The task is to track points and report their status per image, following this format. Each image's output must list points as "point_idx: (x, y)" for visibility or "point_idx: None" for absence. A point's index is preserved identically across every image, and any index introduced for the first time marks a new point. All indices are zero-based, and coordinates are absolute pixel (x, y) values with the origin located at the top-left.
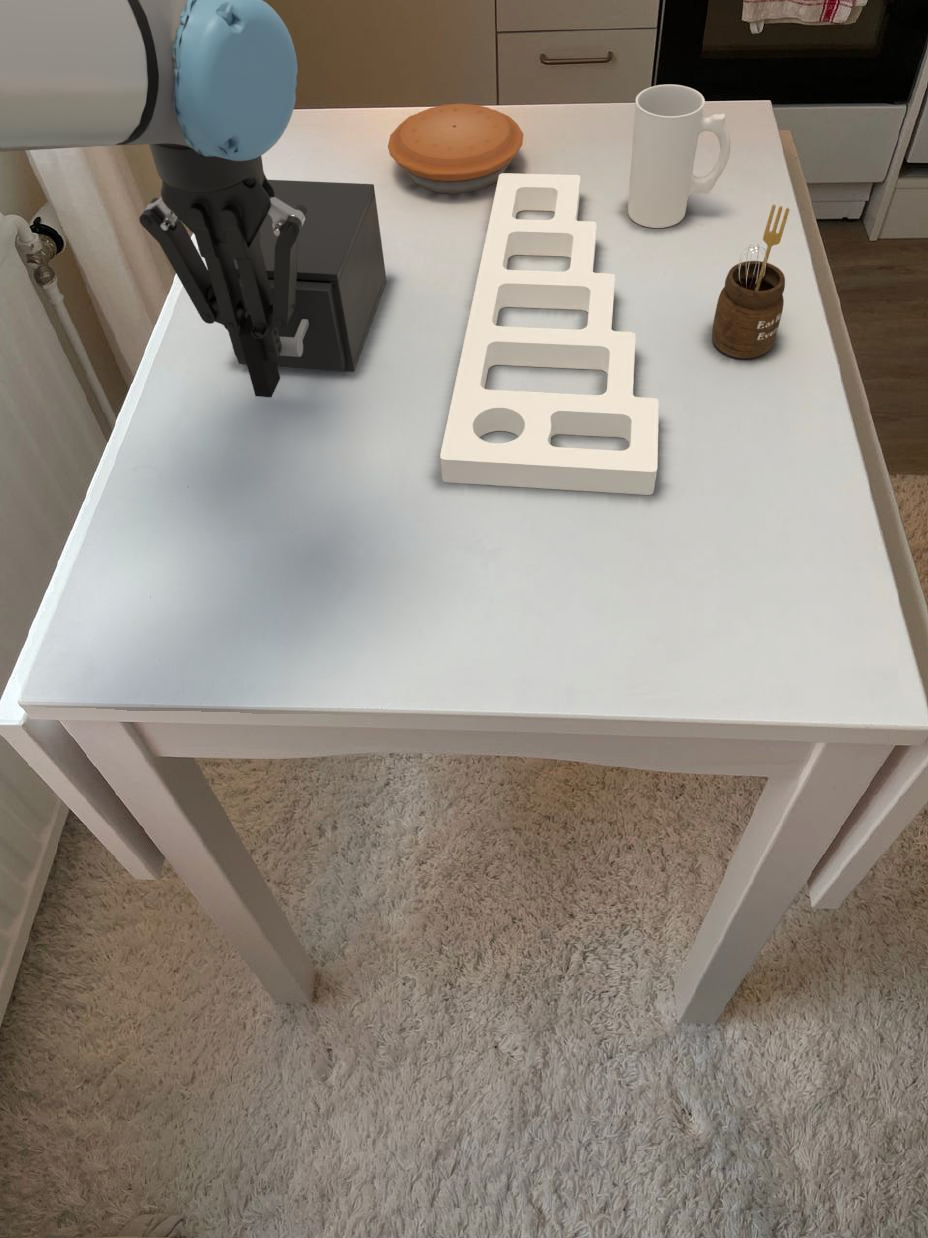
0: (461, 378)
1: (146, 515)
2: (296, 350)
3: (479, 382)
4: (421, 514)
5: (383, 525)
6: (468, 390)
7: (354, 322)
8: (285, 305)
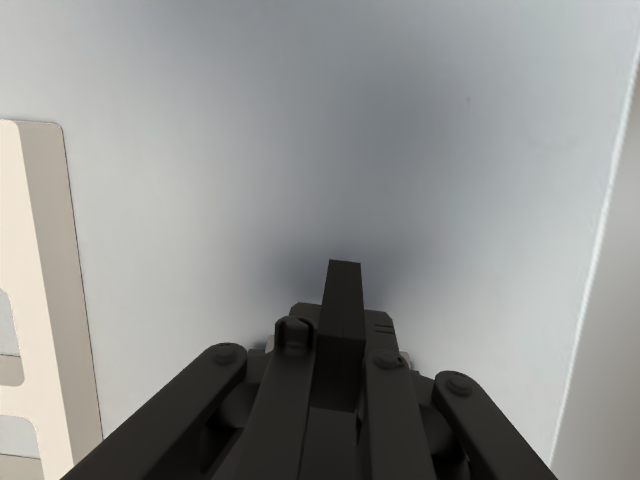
0: (41, 311)
1: (537, 22)
2: (269, 341)
3: (11, 301)
4: (72, 49)
5: (123, 20)
6: (22, 284)
7: None
8: (165, 393)
